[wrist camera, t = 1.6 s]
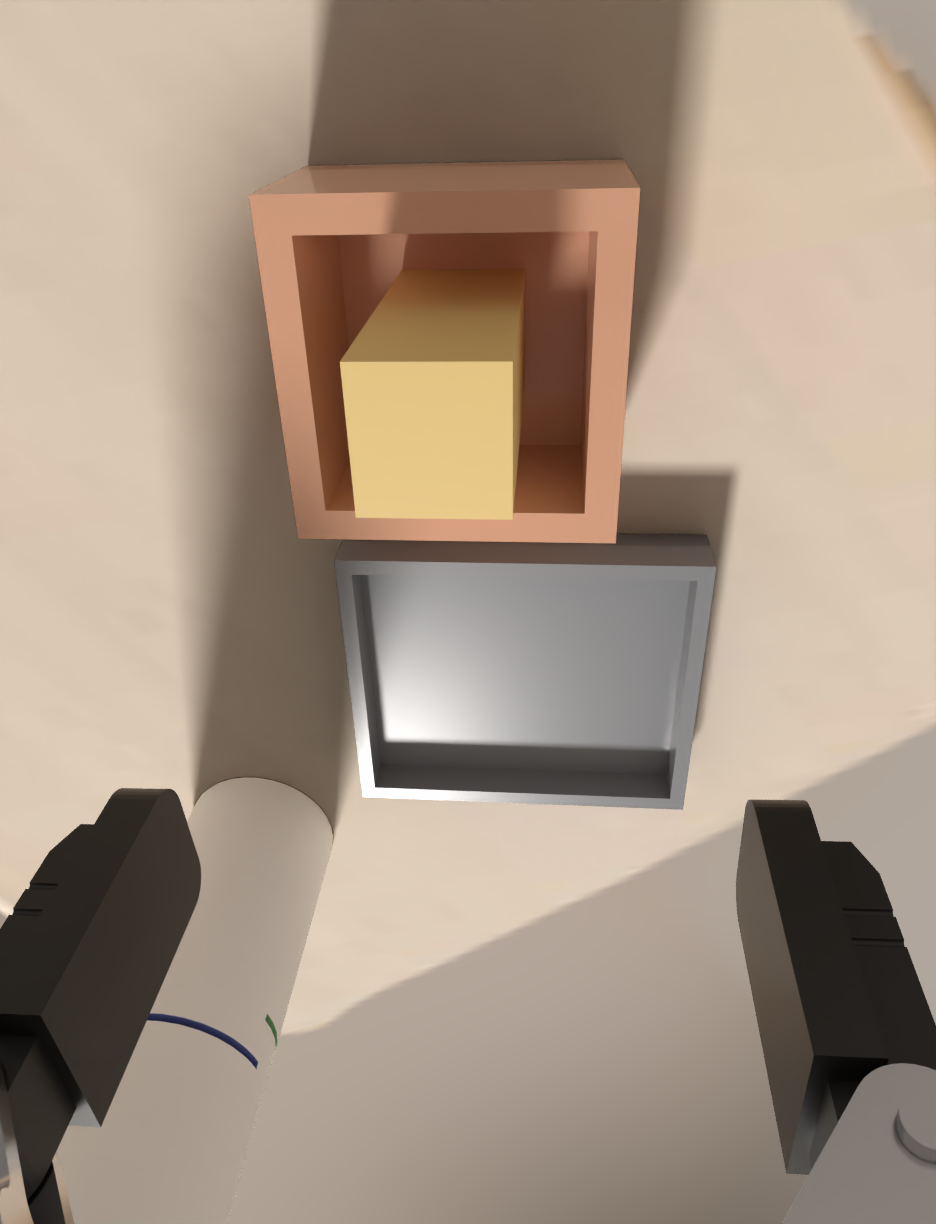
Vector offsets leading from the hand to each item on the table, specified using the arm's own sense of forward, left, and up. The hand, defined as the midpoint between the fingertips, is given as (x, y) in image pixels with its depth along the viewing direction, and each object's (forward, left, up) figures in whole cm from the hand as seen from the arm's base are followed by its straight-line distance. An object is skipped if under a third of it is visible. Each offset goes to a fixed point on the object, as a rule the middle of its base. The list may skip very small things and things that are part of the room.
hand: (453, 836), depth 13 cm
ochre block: (-2, +1, -21) cm, 21 cm away
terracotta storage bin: (-2, +1, -22) cm, 22 cm away
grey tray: (0, -13, -22) cm, 26 cm away
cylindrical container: (-13, -24, -23) cm, 35 cm away
